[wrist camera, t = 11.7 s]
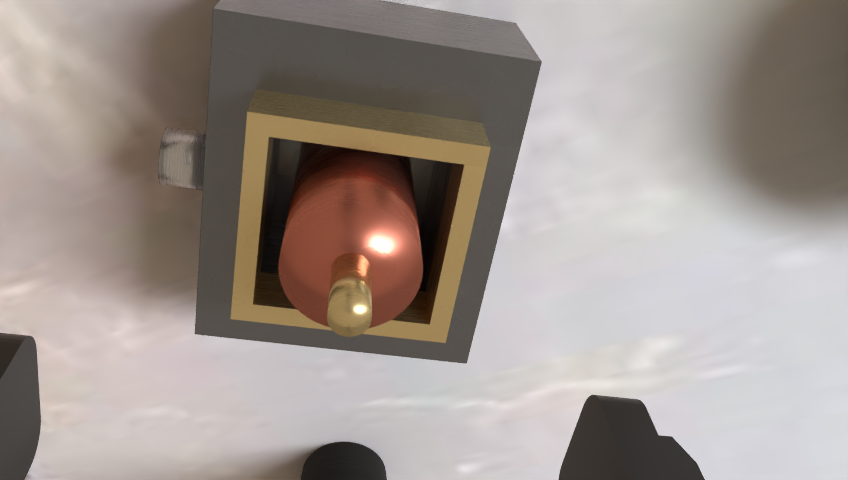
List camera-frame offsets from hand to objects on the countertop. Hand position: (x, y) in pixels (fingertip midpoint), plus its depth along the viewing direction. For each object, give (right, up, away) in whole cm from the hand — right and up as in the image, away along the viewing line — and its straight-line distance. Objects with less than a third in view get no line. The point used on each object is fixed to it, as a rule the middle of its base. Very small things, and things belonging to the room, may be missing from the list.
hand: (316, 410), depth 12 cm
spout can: (-2, +6, +25) cm, 26 cm away
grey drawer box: (-3, +7, +26) cm, 27 cm away
